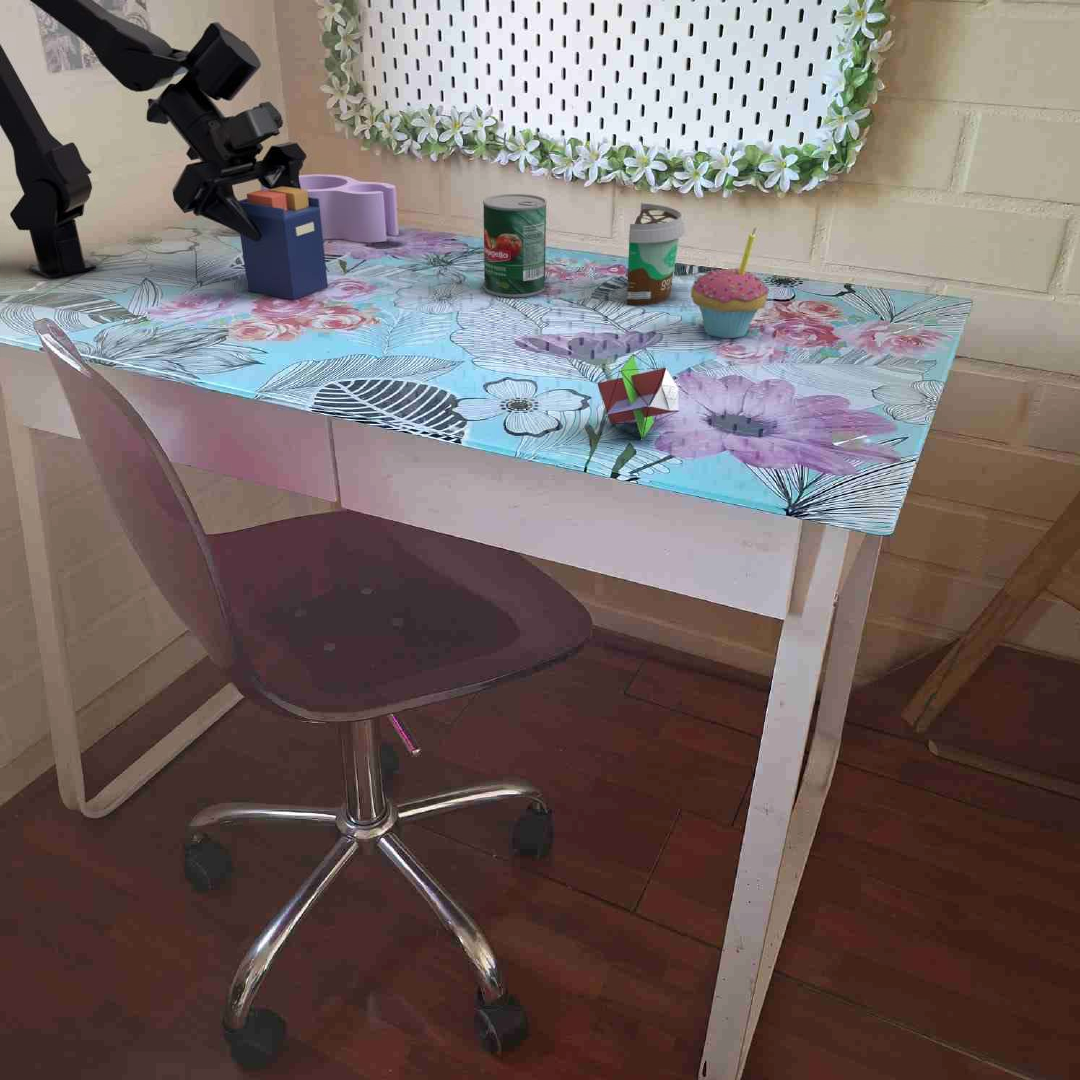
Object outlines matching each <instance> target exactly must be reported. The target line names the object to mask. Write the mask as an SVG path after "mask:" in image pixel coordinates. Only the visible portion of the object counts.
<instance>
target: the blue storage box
mask: <svg viewBox="0 0 1080 1080" xmlns="http://www.w3.org/2000/svg"><path fill="white" fill-rule="evenodd" d="M238 201H239V203H240V204H241V205H242V207H243V208H244V209H245V211H246V212H247V214H248V215H249V216H250V218H251V219H252V220H253V222H254V223H255V225H256V226H257V228H258V230H259V231H260V233H261V235H262V238H261V239H260V240H259V241H257V242H256V241H254V240H252V239H250V238H248V237H246V236H244V235H242V234H240V233H239V237H240V244H241V251H242V257H243V263H244V265H243V266H244V272H245V278H246V286H247V291H248V292H252V293H256V294H262V295H266V296H271V297H276V298H281V299H286V300H291V301H296V300H298V299H301V298H304V297H305V296H308V295H311V294H313V293H316V292H318V291H321V290H323V289H326V288H328V287H329V285H328V275H327V266H326V265H327V263H326V255H325V245H324V239H323V235H322V225H321V215H320V204H319V199H318V198H311V197H308V203H309V207H306V208H302V209H299V210H290V209H287V211H284V209H282V208H276V207H270V206H263V205H257V204H251V203H248V201H247V198H244V199H243V198H242V199H240V200H238Z"/></svg>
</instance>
